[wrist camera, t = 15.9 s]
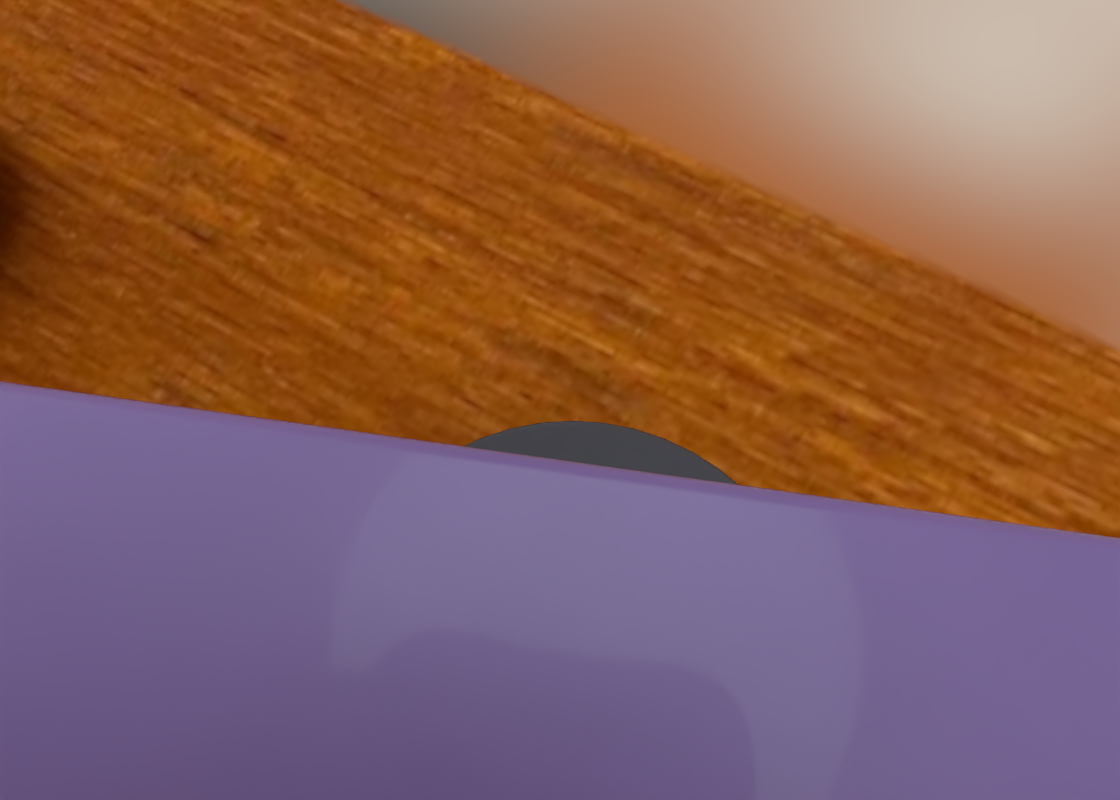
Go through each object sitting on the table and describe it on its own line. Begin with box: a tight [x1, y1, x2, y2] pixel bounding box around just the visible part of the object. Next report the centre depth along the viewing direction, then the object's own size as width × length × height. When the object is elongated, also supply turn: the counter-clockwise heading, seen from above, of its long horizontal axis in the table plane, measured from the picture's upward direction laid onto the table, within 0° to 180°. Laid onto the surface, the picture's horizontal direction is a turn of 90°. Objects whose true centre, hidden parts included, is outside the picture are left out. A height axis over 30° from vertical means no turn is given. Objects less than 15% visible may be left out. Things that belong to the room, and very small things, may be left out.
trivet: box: [465, 421, 738, 485], centre depth 13 cm, size 8×8×1 cm
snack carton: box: [0, 381, 1120, 800], centre depth 8 cm, size 6×3×10 cm, turn 81°
